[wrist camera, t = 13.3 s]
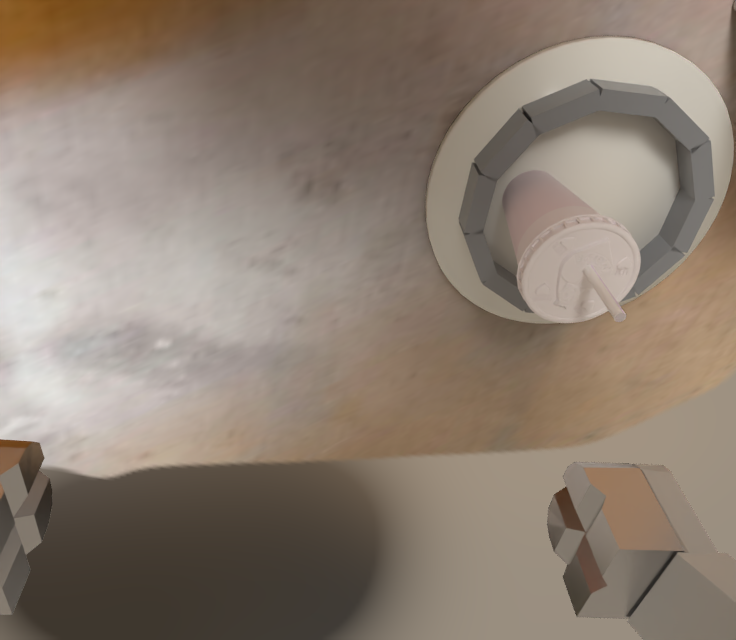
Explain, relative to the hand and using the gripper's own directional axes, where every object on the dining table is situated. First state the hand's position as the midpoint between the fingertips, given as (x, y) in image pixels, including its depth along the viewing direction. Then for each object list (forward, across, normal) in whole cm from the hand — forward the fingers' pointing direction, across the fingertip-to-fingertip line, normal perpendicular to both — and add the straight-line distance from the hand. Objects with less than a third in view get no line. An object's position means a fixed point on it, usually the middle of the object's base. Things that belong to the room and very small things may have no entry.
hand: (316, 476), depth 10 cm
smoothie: (+30, -15, +8) cm, 34 cm away
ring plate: (+31, -18, +8) cm, 37 cm away
